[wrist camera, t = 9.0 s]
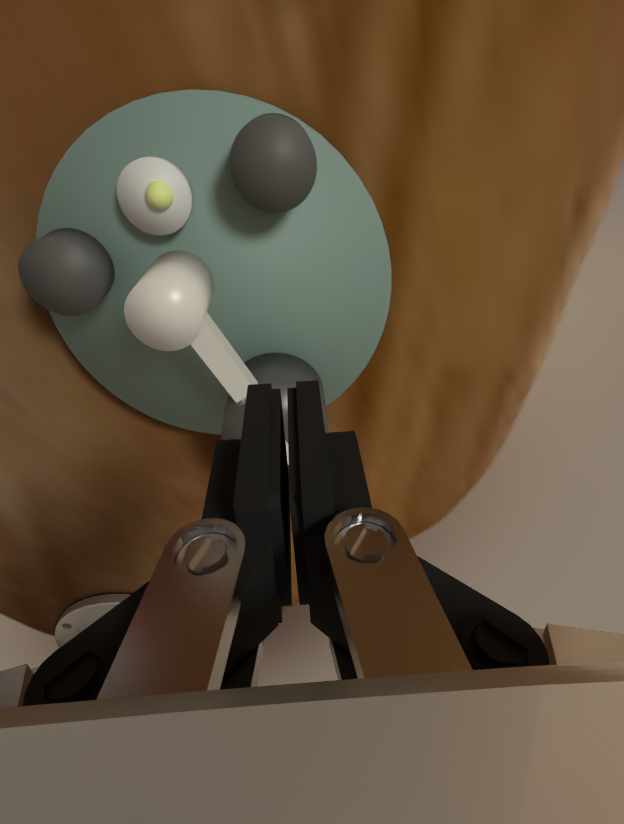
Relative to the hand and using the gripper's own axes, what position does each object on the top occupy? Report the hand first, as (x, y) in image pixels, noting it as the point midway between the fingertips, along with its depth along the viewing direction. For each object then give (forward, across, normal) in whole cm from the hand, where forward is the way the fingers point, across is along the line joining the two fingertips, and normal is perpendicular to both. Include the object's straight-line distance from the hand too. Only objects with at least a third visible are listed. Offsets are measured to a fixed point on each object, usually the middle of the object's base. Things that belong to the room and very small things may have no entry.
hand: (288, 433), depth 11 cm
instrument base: (+16, +4, +2) cm, 17 cm away
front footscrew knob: (+14, +3, +4) cm, 15 cm away
